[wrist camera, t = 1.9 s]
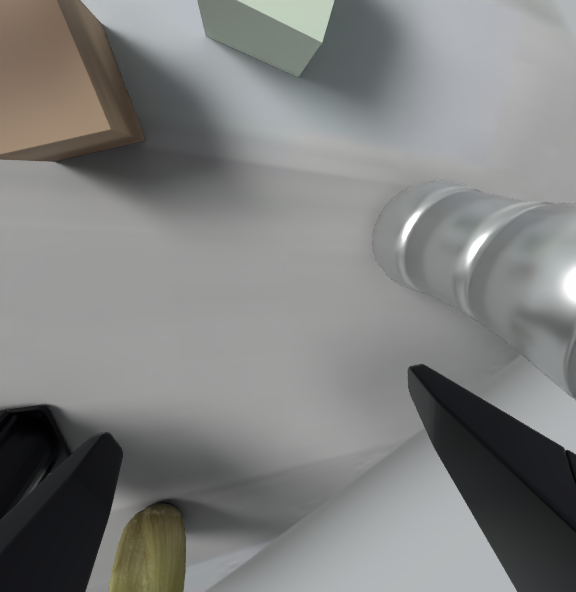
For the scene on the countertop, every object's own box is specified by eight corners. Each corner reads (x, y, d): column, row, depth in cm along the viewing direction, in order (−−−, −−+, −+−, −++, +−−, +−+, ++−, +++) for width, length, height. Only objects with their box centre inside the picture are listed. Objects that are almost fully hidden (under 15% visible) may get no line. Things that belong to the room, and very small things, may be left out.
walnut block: (146, 140, 16) (110, 129, 11) (54, 161, 16) (-19, 158, 11) (102, 24, 14) (38, -46, 9) (-5, 46, 14) (-124, -15, 9)
